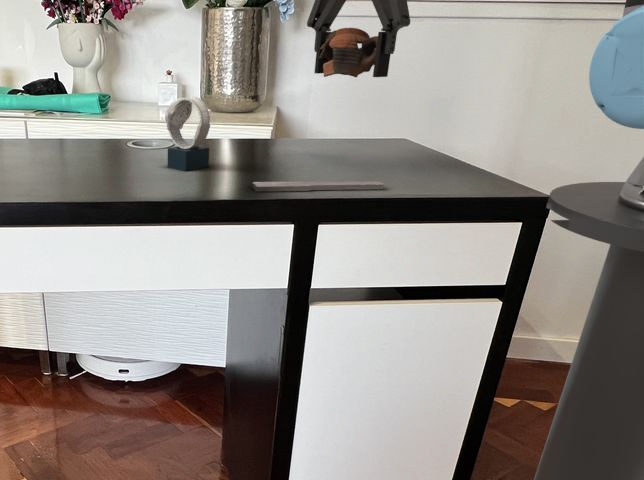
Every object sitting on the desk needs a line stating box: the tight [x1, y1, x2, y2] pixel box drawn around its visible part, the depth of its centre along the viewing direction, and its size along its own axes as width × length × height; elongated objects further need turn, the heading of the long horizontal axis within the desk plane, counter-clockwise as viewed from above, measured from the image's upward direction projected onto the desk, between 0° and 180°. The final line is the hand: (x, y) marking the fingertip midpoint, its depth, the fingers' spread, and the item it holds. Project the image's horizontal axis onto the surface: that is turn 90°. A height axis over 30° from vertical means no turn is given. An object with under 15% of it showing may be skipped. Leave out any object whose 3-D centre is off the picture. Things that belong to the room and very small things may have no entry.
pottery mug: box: [319, 27, 378, 78], centre depth 106 cm, size 12×10×8 cm
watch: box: [164, 96, 211, 172], centre depth 105 cm, size 6×8×11 cm
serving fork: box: [252, 181, 385, 193], centre depth 93 cm, size 19×3×1 cm, turn 94°
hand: (349, 75), depth 107 cm, fingers closed on pottery mug, 12 cm apart
